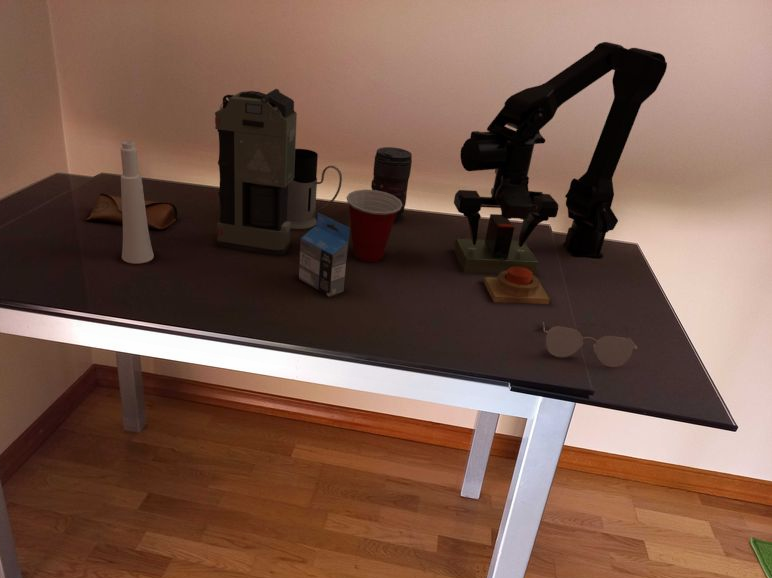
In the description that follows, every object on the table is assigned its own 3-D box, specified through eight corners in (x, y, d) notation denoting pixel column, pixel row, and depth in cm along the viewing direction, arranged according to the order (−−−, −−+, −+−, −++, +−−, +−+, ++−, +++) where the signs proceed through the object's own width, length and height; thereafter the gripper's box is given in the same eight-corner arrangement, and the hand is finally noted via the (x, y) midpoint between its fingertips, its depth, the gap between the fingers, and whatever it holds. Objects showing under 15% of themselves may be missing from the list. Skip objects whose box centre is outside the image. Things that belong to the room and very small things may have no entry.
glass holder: (288, 211, 158) (290, 145, 150) (345, 224, 153) (351, 156, 145) (270, 223, 152) (271, 155, 144) (329, 237, 147) (334, 167, 139)
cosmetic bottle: (145, 248, 137) (136, 136, 125) (159, 259, 133) (151, 144, 121) (116, 255, 134) (104, 140, 122) (129, 266, 130) (118, 149, 118)
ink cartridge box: (297, 279, 129) (300, 216, 122) (313, 274, 131) (317, 211, 124) (328, 297, 123) (334, 232, 117) (345, 292, 125) (350, 227, 119)
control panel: (520, 253, 144) (523, 239, 143) (535, 277, 135) (539, 262, 133) (453, 250, 144) (455, 236, 142) (464, 274, 134) (467, 259, 133)
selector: (484, 242, 141) (490, 212, 137) (499, 242, 141) (505, 213, 137) (492, 256, 135) (499, 226, 131) (508, 257, 135) (514, 226, 131)
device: (293, 243, 143) (299, 91, 127) (282, 258, 136) (287, 99, 121) (228, 233, 146) (227, 83, 130) (215, 247, 139) (211, 91, 124)
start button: (526, 275, 129) (528, 267, 128) (533, 286, 125) (535, 277, 124) (503, 274, 129) (505, 266, 128) (509, 285, 125) (511, 276, 124)
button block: (535, 284, 132) (539, 270, 130) (548, 304, 125) (552, 289, 123) (483, 282, 132) (486, 268, 130) (493, 302, 125) (496, 287, 123)
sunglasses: (538, 353, 110) (545, 324, 108) (537, 335, 118) (544, 308, 116) (631, 370, 107) (640, 340, 105) (624, 351, 115) (632, 323, 113)
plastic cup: (367, 272, 133) (374, 212, 126) (330, 253, 140) (334, 195, 133) (406, 259, 139) (414, 201, 133) (369, 241, 146) (375, 185, 139)
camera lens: (392, 227, 153) (400, 159, 145) (362, 217, 157) (368, 151, 149) (410, 217, 159) (419, 152, 151) (381, 208, 163) (387, 144, 155)
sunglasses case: (82, 219, 147) (87, 188, 147) (97, 225, 154) (102, 195, 154) (163, 230, 144) (168, 198, 144) (174, 235, 151) (179, 205, 151)
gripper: (472, 178, 122) (457, 260, 130) (577, 183, 122) (556, 264, 131) (460, 159, 131) (447, 237, 140) (557, 164, 132) (539, 241, 140)
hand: (496, 245), depth 137 cm, fingers open, 9 cm apart
